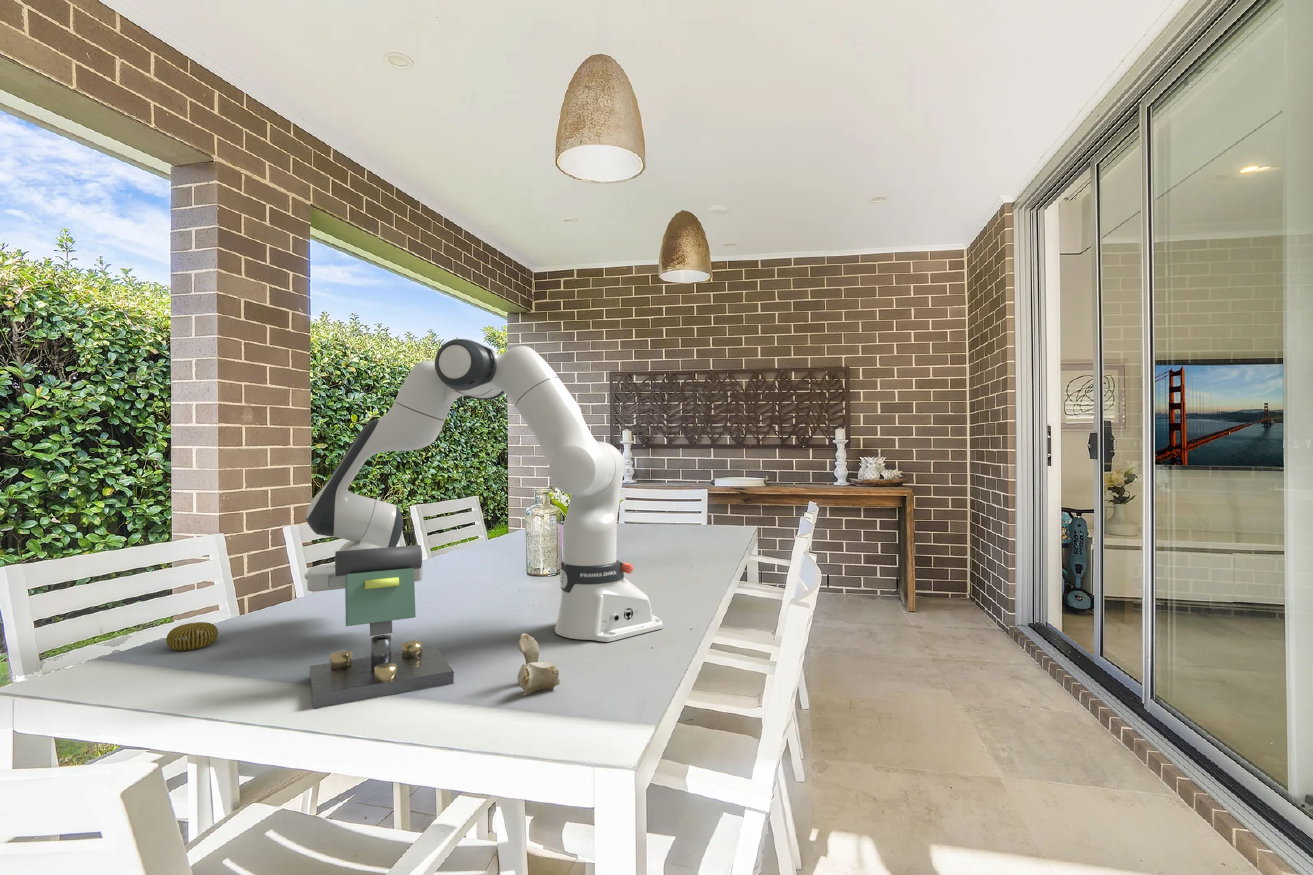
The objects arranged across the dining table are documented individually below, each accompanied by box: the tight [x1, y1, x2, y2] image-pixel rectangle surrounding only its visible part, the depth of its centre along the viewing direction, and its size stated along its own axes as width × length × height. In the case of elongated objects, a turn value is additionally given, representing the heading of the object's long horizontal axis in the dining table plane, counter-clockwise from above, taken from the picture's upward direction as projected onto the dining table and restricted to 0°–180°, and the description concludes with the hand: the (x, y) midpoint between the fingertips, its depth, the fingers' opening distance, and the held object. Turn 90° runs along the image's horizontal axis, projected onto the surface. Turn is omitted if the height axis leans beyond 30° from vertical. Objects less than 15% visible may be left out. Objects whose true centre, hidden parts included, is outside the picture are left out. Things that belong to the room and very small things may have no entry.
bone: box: [517, 633, 560, 696], centre depth 101 cm, size 9×6×10 cm
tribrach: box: [309, 634, 455, 709], centre depth 105 cm, size 20×14×7 cm
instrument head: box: [334, 544, 423, 637], centre depth 106 cm, size 13×6×14 cm, turn 120°
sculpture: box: [165, 621, 219, 652], centre depth 122 cm, size 8×4×8 cm
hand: (370, 582), depth 118 cm, fingers closed
